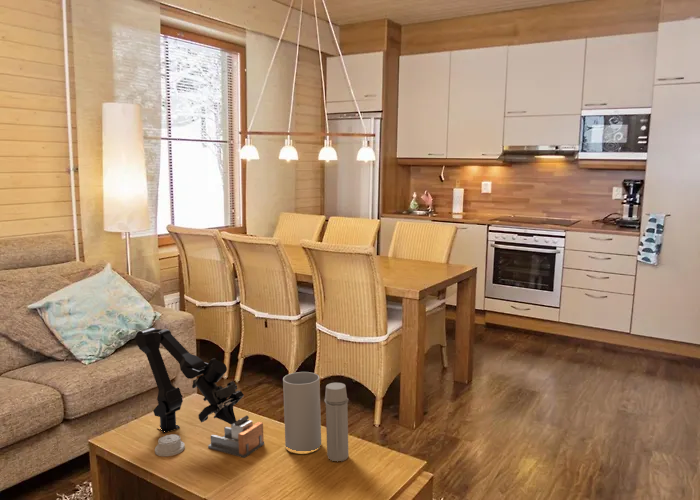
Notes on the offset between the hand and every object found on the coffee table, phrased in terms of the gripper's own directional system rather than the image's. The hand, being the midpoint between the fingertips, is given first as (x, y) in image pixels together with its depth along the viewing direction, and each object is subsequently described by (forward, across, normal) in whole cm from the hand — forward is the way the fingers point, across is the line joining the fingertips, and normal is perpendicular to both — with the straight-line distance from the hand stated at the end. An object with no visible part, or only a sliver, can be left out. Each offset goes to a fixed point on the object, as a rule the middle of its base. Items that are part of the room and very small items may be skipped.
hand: (235, 425), depth 196 cm
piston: (+7, 0, +3) cm, 7 cm away
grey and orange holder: (+5, 0, +6) cm, 8 cm away
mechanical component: (-8, -12, +20) cm, 25 cm away
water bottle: (+32, +8, -20) cm, 38 cm away
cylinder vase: (+21, +10, -9) cm, 25 cm away
